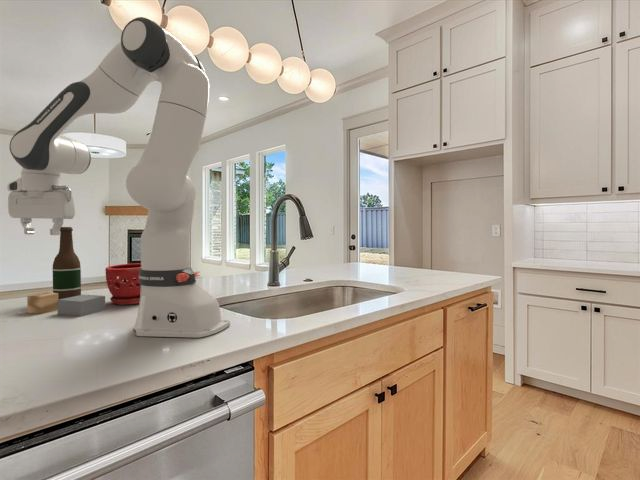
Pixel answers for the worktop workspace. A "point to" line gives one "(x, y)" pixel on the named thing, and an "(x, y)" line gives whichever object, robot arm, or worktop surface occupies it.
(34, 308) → the oak cube
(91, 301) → the block
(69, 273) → the beer bottle
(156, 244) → the robot arm
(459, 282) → the worktop surface
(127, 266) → the plant pot
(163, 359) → the worktop surface
